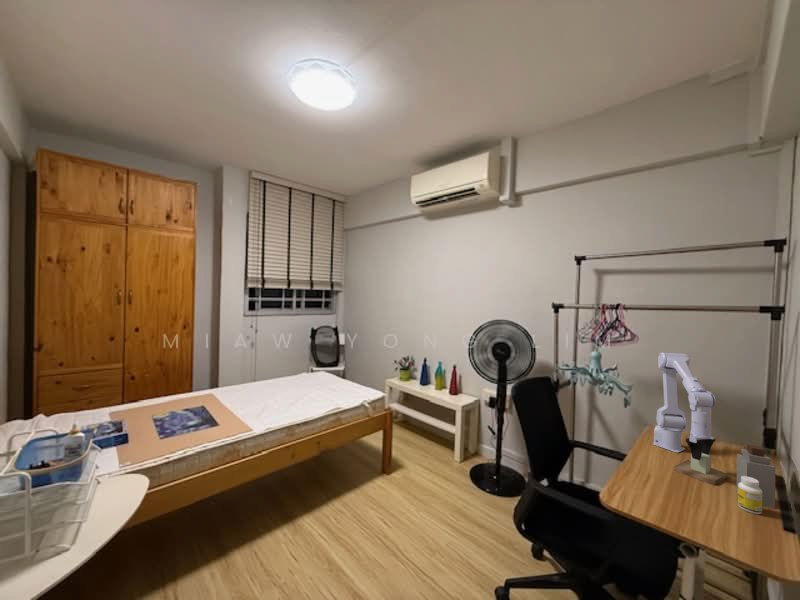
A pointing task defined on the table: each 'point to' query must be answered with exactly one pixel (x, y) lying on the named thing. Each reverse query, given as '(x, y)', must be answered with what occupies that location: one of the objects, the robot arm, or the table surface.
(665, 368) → the robot arm
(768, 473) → the grey tall open box
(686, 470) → the walnut base
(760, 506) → the supplement bottle
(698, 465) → the sage block
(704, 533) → the table surface
